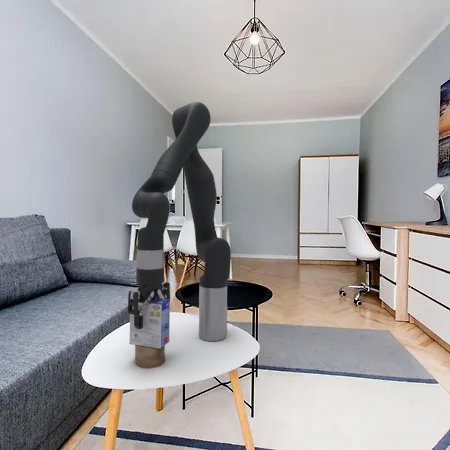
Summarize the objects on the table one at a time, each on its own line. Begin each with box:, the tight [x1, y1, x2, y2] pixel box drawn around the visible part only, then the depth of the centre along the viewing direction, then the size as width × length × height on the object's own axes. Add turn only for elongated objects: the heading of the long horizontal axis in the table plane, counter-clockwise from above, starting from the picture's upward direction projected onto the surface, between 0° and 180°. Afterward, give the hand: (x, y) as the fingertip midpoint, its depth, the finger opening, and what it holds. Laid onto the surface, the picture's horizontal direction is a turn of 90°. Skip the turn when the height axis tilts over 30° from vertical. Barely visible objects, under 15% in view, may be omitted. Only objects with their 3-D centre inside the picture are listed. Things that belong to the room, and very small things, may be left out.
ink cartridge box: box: [128, 295, 171, 348], centre depth 87 cm, size 10×6×14 cm, turn 76°
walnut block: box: [134, 345, 166, 369], centre depth 87 cm, size 8×8×5 cm
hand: (150, 323), depth 87 cm, fingers open, 8 cm apart
